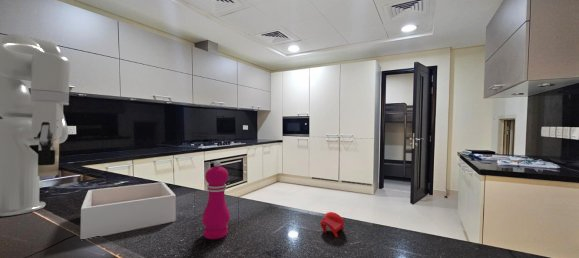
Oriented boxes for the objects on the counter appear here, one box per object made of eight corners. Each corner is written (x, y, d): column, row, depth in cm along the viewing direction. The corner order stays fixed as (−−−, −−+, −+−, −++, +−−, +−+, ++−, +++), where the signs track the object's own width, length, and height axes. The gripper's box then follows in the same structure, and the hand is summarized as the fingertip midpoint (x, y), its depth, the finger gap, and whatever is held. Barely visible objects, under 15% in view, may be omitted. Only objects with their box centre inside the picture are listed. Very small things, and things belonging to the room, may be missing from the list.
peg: (39, 174, 66) (40, 132, 66) (59, 173, 68) (60, 132, 68) (35, 177, 63) (37, 132, 63) (56, 175, 65) (58, 132, 65)
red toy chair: (335, 230, 60) (348, 214, 63) (317, 216, 64) (331, 202, 67) (336, 245, 65) (348, 230, 68) (319, 232, 68) (332, 218, 71)
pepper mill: (221, 241, 59) (223, 163, 60) (196, 238, 61) (197, 162, 61) (234, 230, 67) (235, 159, 67) (210, 227, 68) (212, 158, 68)
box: (87, 214, 76) (88, 190, 76) (163, 202, 90) (163, 182, 90) (80, 240, 59) (81, 208, 59) (175, 221, 72) (175, 195, 72)
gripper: (38, 99, 70) (36, 160, 70) (21, 94, 57) (18, 169, 57) (72, 101, 74) (70, 159, 75) (63, 97, 61) (61, 167, 61)
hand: (48, 163), depth 66 cm, fingers closed on peg, 4 cm apart
